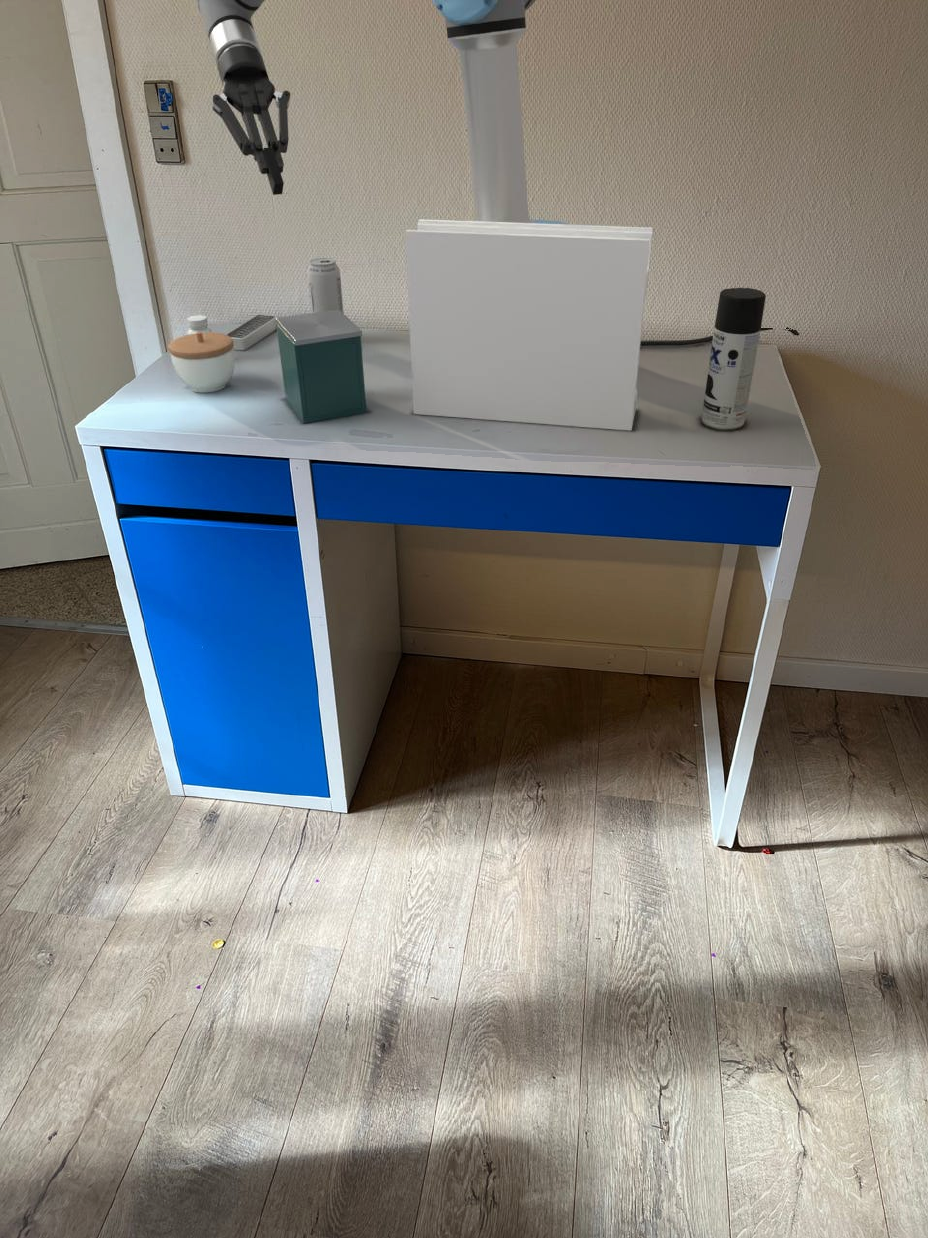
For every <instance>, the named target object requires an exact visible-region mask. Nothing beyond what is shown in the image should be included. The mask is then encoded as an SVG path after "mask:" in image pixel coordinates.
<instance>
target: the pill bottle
mask: <svg viewBox="0 0 928 1238" xmlns="http://www.w3.org/2000/svg"><path fill="white" fill-rule="evenodd" d="M187 325H188V328H189V329H188V330H187V335H190V334H196V332H202V333H213V331H212V329H211V328H210V327H209V322H208V317H207V315H203V314H198V315H197V314H196V315H191V316H189V317H187Z"/></svg>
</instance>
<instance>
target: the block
mask: <svg viewBox="0 0 928 1238" xmlns="http://www.w3.org/2000/svg"><path fill="white" fill-rule="evenodd" d="M567 224H568V223H567ZM567 224H539V223H511V222H483V221H476V220H451V219H426V218H425V219H423V218H420V219H417V227H416V228H417V229H406V230H405V231H404V232H405V233H404V234H405V255H406V279H407V298H408V300H407V301H408V319H409V320H408V321H409V342H410V344H409V345H410V363H411V385H412V405H413V415H421V416H422V415H425V416H436V417H450V418H460V419H461V418H463V419H475V420H487V421H499V422H501V421H502V422H513V423H525V424H526V423H528V424H540V425H552V426H565V427H578V428H590V429H591V428H592V429H605V430H606V429H607V430H617V431H630V432H632V430H633V425H634V420H635V414H636V408H637V398H638V389H637V384H638V374H639V363H640V353H641V346H640V343H641V341H642V332H643V322H644V310H645V303H646V296H647V291H648V284H649V275H650V273H649V272H650V262H651V253H652V244H653V233H654V227H650V226H648V227H645V226H619V225H592V224H569V225H567Z"/></svg>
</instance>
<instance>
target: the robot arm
mask: <svg viewBox="0 0 928 1238" xmlns="http://www.w3.org/2000/svg"><path fill="white" fill-rule="evenodd" d="M265 1H266V0H197V2H196V3H197V8H198V10H199V13H200V15H201V17H202V21H203V24H204V27H205V30H206V33H207V34H206V35H207V37H208V40H209V43H210V47H211V50H212V53H213V57H214V61H215V64H216V67H217V71H218V75H219V77H220V81H221V84H222V93H220V94H213V96H212V111H213V112H214V113H216V114H217V115H218V116H219V117H220V118H221V120H222V122H223V123H224V125H225V126H226V128H227V129H228V131H229V133H230V135H231V136H232V138H233V140H234V142H235V143H236V145H237V147H238V148H239V150H240V153H242V155H243V156H245V157H248V156H249V155H250V156H252V157H253V159H254V161H255V162H256V163H257V166H258V169H259V172H260V174H261V175H266V176H267V179H268V182H269V186H270V189H271V193H272V195H273V196H276V195H283V191H284V184H285V183H284V180H283V179H284V178H283V176H282V173H283V172H284V165H285V163H284V160H283V156H282V154H286V153H287V152H288V148H289V147H288V146H289V141H290V140H289V139H290V138H289V117H288V116H289V115H288V110H289V106H290V101H291V92H290V91H289V90H283V92H281V91H279V90H276V88H275V85H274V83H273V82H272V81H271V80H270V78H269V74H268V71H267V68H266V65H265V62H264V58H263V55H262V51H261V48H260V44H259V42H258V38H257V36H256V33H255V30H254V29H255V28H254V25H253V22H252V17H253V16H254V14H255V13H256V12H257V11H258V9H260V7H261V6H262V5H263V3H264V2H265ZM536 1H537V0H432V3H433V4H434V6H435V8H436V9H437V10H438V11H439V13H440V14H441V15H442V16H443V18H445V27H446V37H447V41H448V43H449V44H450V45H452V46H453V47H454V49H456V50H457V51H458V55H459V64H460V73H461V83H462V93H463V95H462V96H463V105H464V113H465V114H464V115H465V125H466V135H467V144H468V145H467V146H468V154H469V155H468V156H469V165H470V166H469V167H470V175H471V176H470V177H471V186H472V197H473V207H474V216H475V221H483V222H511V223H539V224H567V225H570V224H569V223H567V222H563V221H558V220H551V219H535V218H534V219H533V218H532V219H531V218H530V216H529V203H528V188H527V174H526V173H527V172H526V161H525V160H526V159H525V144H524V130H523V129H524V128H523V115H522V102H521V100H522V99H521V87H520V72H519V60H518V59H519V57H518V43H519V42H520V40H521V38H522V37H523V35H524V34H525V33H526V31H527V25H526V24H527V22H526V11H527V10H529V9H530V8H531V7H532V6H533V5H534V3H535V2H536ZM273 100H274V101H275V106H276V108H277V109H278V112H277V113H278V114H277V115H278V116H277V117H278V136H277V134H276V130H275V128H274V124H273V121H272V118H271V114H270V112H269V108H270V106H271V104H272V102H273ZM232 107H233V109H235V110H236V111H237V112H238V113H240V115H241V118H242V122H243V123H244V126H245V129H246V132H247V133H246V132H245V130H244V127H242V125H241V123H240V121H239V119H238V117H237V116H236V114H235V113H234V111H233V109H232ZM255 115H256V116H257V119H258V122H259V123H260V126H261V129H262V132H263V136H264V140H265V143H266V146H267V147H264V144H263V141H262V137H261V134H260V131H259V127H258V125H257V121H256V118H255ZM786 329H789V328H788V327H787V328H786ZM786 329H783V330H784V331H787V332H790V333H791V334H792V335H793V336H801V334H800V333H799V331H798V330H797V329H795V328H794V329H795V330H793V329H792V330H790V329H791V328H790V329H789V330H786ZM770 330H771V331H772V330H774V329H773V328H761V330H760V332H765V331H770ZM712 341H713V335H709V336H705V337H700V338H695V339H694V338H693V339H683V340H641V343H640V347H676V346H679V347H680V346H693V345H700V344H705V343H709V342H712Z"/></svg>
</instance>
